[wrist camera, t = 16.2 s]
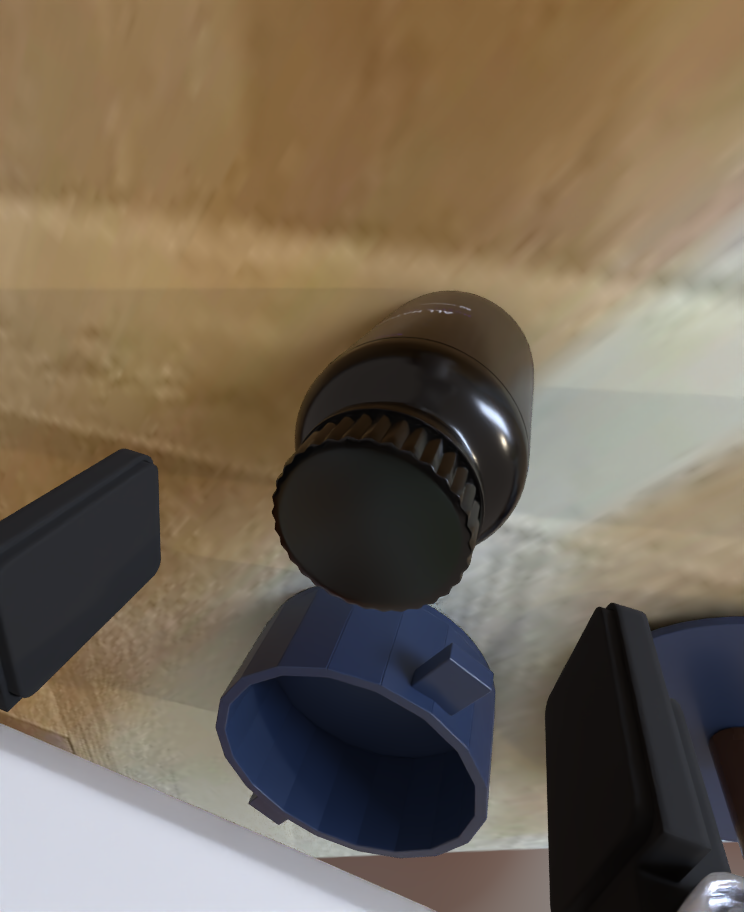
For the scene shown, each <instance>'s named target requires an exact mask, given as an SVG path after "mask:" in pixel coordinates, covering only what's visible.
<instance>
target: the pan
mask: <svg viewBox="0 0 744 912" xmlns="http://www.w3.org/2000/svg"><path fill="white" fill-rule="evenodd" d="M493 676H494V674H493V672H492V671H490V669H489V666H488V664H487V662H486V661H485V659H484V657H483V655H482V653H481V652H480V651H479V649H478V648H477V646H476V645H475V644H474V642H473V641H472V640H471V639H470V638H469V637H468V636H467V635H466V634H465V633H464V631H463V630H462V629H461V628H459V627H458V626H457V625H456V624H455V623H453V622H452V621H451V620H450V619H449V618H447V617H446V616H444V615H443V614H442V613H440V612H439V611H437V610H436V609H434V608H432V607H430V606H429V605H427V604H426V605H423V606H422V607H421V608H420V609H407V610H405V611H403V612H398V611H393V610H390V611H386V612H382V611H379V610H376V609H364V608H362V607H360V606H358V605H355V604H347V603H346V602H344V601H343V600H342V599H340V598H337V597H333V596H331V595H330V594H328V593H327V592H326V591H325V590H324V589H322V588H320V587H313V588H310V589H307V590H305V591H303V592H300V593H298V594H296V595H295V596H293V597H292V598H290V599H289V600H287V601H286V602H285V603H284V604H283V605H282V606H281V607H280V608H279V609H278V611H277V612H276V613H275V615H274V616H273V617H272V618H271V620H270V621H269V622H268V623H267V624H266V626H265V628H264V629H263V631H262V632H261V634H260V636H259V637H258V639H257V640H256V642H255V644H254V645H253V647H252V649H251V650H250V652H249V653H248V655H247V657H246V658H245V660H244V661H243V663H242V665H241V666H240V668H239V669H238V671H237V673H236V674H235V676H234V678H233V679H232V681H231V682H230V684H229V686H228V687H227V689H226V690H225V692H224V694H223V695H222V697H221V699H220V704H219V710H218V716H217V721H216V730H217V734H218V737H219V740H220V743H221V746H222V749H223V752H224V755H225V758H226V759H227V760H228V762H229V763H230V765H231V766H232V767H233V769H234V770H235V771H236V773H237V774H238V775H239V777H240V778H241V780H242V781H243V782H244V784H245V785H246V786H247V787H248V788H249V789H250V790H251V791H252V792H253V794H252V796H251V798H250V801H249V804H250V805H251V806H252V807H254V808H255V809H257V810H258V811H260V812H261V813H262V814H264V815H265V816H267V817H268V818H269V819H271V820H272V821H274V822H275V823H276V824H278V825H279V824H281V823H283V822H284V821H286V820H287V819H288V820H290V821H292V822H293V823H295V824H297V825H299V826H300V827H302V828H304V829H305V830H307V831H309V832H311V833H312V834H314V835H316V836H318V837H321V838H324V839H327V840H329V841H332V842H335V843H337V844H340V845H343V846H345V847H348V848H351V849H353V850H357V851H361V852H367V853H372V854H378V855H384V856H390V857H396V858H411V857H426V856H427V857H428V856H437V855H440V854H443V853H445V852H448V851H450V850H452V849H455V848H457V847H460V846H462V845H464V844H467V843H468V842H469V841H470V840H471V839H472V838H473V836H474V835H475V834H476V832H477V831H478V830H479V829H480V827H481V826H482V825H483V823H484V822H485V821H486V818H487V810H488V797H489V784H490V771H491V757H492V744H493V731H494V714H495V687H494V682H493Z"/></svg>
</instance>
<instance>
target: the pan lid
mask: <svg viewBox="0 0 744 912" xmlns="http://www.w3.org/2000/svg"><path fill="white" fill-rule="evenodd" d="M651 634H652V637H653V641H654V645H655V648H656V652H657V655H658V659H659V662H660V666H661V670H662V673H663V677H664V680H665V684H666V687H667V691H668V695H669V697H670V698H673V699H675V700H676V701H677V702H678V703H679V704H680V706H681V709H682V711H683V713H684V717H685V720H686V723H687V727H688V730H689V733H690V737H691V740H692V743H693V747H694V750H695V753H696V757H697V760H698V763H699V767H700V770H701V773H702V777H703V780H704V783H705V787H706V790H707V793H708V797H709V800H710V804H711V807H712V810H713V814H714V817H715V820H716V824H717V827H718V830H719V834H720V837H721V840H727V841H734V842H738V843H739V846H740V849H741V852H742V856H743V858H744V617H742V616H731V617H717V618H705V619H699V620H693V621H687V622H681V623H677V624H673V625H669V626H666V627H662V628H658V629H655V630H653V631H651Z"/></svg>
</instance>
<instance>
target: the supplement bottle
mask: <svg viewBox="0 0 744 912" xmlns="http://www.w3.org/2000/svg"><path fill="white" fill-rule="evenodd" d="M533 390H534V367H533V359H532V354H531V351H530V348H529V344H528V342H527V340H526V337H525V336H524V334H523V332H522V330H521V329H520V327H519V326H518V324H517V323H516V322H515V321H514V320H513V318H512V317H511V316H510V315H509V314H508V313H507V312H505V311H504V310H503V309H502V308H500V307H499V306H498V305H496V304H495V303H493V302H491V301H489V300H487V299H485V298H483V297H480V296H478V295H475V294H471V293H467V292H460V291H439V292H434V293H429V294H426V295H422V296H420V297H418V298H415V299H413V300H411V301H409V302H407V303H406V304H404V305H403V306H401V307H400V308H398V309H397V310H395V311H394V312H393V313H391V314H390V315H389V316H388V317H387V318H385V319H384V320H383V321H382V322H380V323H379V324H378V325H377V326H375V327H374V328H373V329H372V330H371V331H369V332H368V333H367V334H366V335H364V336H363V337H362V338H361V339H359V340H358V341H357V342H356V343H355V344H353V345H352V346H351V347H350V348H348V349H347V350H346V351H345V352H344V353H342V354H341V355H340V356H339V357H337V358H336V359H335V360H334V361H333V362H331V363H330V364H329V365H328V366H327V367H326V368H325V369H324V370H323V372H322V373H321V374H320V375H319V376H318V377H317V378H316V380H315V381H314V382H313V383H312V385H311V386H310V388H309V390H308V391H307V393H306V395H305V397H304V399H303V402H302V404H301V407H300V410H299V413H298V417H297V422H296V429H295V453H294V454H293V455H292V456H291V457H290V458H289V459H288V461H287V462H286V463H285V465H284V469H283V472H282V473H281V474H280V475H279V477H278V478H277V481H276V487H277V489H276V490H275V492H274V494H273V496H272V498H273V502H274V508H273V510H272V514H273V517H274V519H275V521H276V522H275V530H276V532H277V533H278V535H279V536H280V542H281V545H282V546H283V548H284V549H285V550H286V551H287V552H288V555H289V558H290V560H291V561H292V562H293V563H295V564H296V565H297V566H298V568H299V570H300V571H301V573H302V574H303V575H305V576H307V577H308V578H310V579H311V581H312V582H313V583H314V584H315V586H317V587H320V588H322V589H324V590H325V591H326V592H327V593H328V594H330V595H331V596H333V597H337V598H340V599H342V600H343V601H344V602H346V603H347V604H355V605H358V606H360V607H362V608H364V609H376V610H379V611H382V612H386V611H390V610H393V611H398V612H403V611H405V610H407V609H420V608H421V607H422V606H423V605H426V604H434V603H435V602H436V601H437V600H438V598H439V597H441V596H445V595H448V594H449V592H450V590H451V588H452V587H453V586H455V585H456V584H458V583H459V582H460V581H461V579H462V576H463V572H464V571H465V570H466V569H467V568H468V567H469V565H470V562H471V558H472V553H473V550H474V548H475V546H476V545H478V544H479V543H481V542H482V541H484V540H486V539H487V538H488V537H490V536H491V535H492V534H493V533H495V532H496V531H497V530H498V529H499V528H500V527H501V526H502V525H503V524H504V522H505V521H506V520H507V519H508V518H509V516H510V515H511V513H512V512H513V510H514V509H515V507H516V505H517V503H518V501H519V499H520V497H521V494H522V492H523V489H524V485H525V481H526V477H527V472H528V465H529V456H530V440H531V423H532V406H533Z"/></svg>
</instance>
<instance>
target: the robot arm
mask: <svg viewBox="0 0 744 912" xmlns="http://www.w3.org/2000/svg"><path fill="white" fill-rule="evenodd" d="M160 561H161V552H160V517H159V483H158V468H157V466H155V465H154V464H153V461H152V459H151V457H149V456H148V455H144V454H141V453H138V452H135V451H132V450H129V449H120V450H118V451H116V452H115V453H113V454H111V455H110V456H108V457H106V458H105V459H103V460H101V461H100V462H98V463H96V464H95V465H93V466H91V467H90V468H88V469H86V470H85V471H83V472H81V473H80V474H78V475H76V476H75V477H73V478H71V479H70V480H68V481H66V482H65V483H63V484H61V485H60V486H58V487H56V488H55V489H53V490H51V491H50V492H48V493H46V494H45V495H43V496H41V497H40V498H38V499H36V500H35V501H33V502H31V503H30V504H28V505H26V506H25V507H23V508H21V509H20V510H18V511H16V512H15V513H13V514H11V515H10V516H8V517H6V518H5V519H3V520H1V521H0V709H1V710H3V711H6V712H8V711H9V710H10V709H11V708H12V707H13V706H14V705H15V704H16V703H17V702H18V701H20V700H21V699H22V698H27V697H30V696H32V695H33V694H34V693H36V692H37V691H38V690H39V689H40V688H41V687H42V686H43V685H44V684H45V683H46V682H47V681H48V680H49V679H50V678H51V677H52V676H53V675H54V674H55V673H56V672H57V671H58V670H59V669H60V668H61V667H62V666H63V665H64V664H65V663H66V662H67V661H68V660H69V659H70V658H71V657H72V656H73V655H74V654H75V653H76V652H77V651H78V650H79V649H80V648H81V647H82V646H83V645H84V644H85V643H86V642H87V641H88V640H89V639H90V638H91V637H92V636H93V635H94V634H95V633H96V632H98V631H99V630H100V629H101V628H102V627H103V626H104V625H105V624H106V623H107V622H108V621H109V620H110V619H111V618H112V617H113V616H114V615H115V614H116V613H117V612H118V611H119V610H120V609H121V608H122V607H123V606H124V605H125V604H126V603H127V602H128V601H129V600H130V599H131V598H132V597H133V596H134V595H135V594H136V593H137V592H138V591H139V590H140V589H141V588H142V587H143V586H144V585H145V584H146V583H147V582H148V581H149V580H150V579H151V578H152V577H153V576H154V575H155V574H156V572H157V570H158V568H159V566H160ZM545 732H546V768H547V805H548V842H549V874H550V875H549V877H550V907H551V912H744V877H741V876H738V875H735V874H731V870H730V867H729V864H728V861H727V857H726V854H725V850H724V847H723V844H722V840H721V837H720V834H719V830H718V827H717V824H716V820H715V817H714V814H713V810H712V807H711V804H710V800H709V797H708V793H707V790H706V787H705V783H704V780H703V777H702V773H701V770H700V767H699V763H698V760H697V757H696V753H695V750H694V747H693V743H692V740H691V737H690V733H689V730H688V727H687V723H686V720H685V717H684V713H683V711H682V709H681V706H680V704H679V703H678V702H677V701H676V700H675V699H673V698H670V697H669V695H668V691H667V687H666V684H665V680H664V677H663V673H662V670H661V666H660V662H659V659H658V655H657V652H656V648H655V645H654V641H653V637H652V634H651V630H650V627H649V623H648V619H647V617H646V615H645V614H644V613H643V612H641V611H638V610H634V609H631V608H628V607H625V606H622V605H619V604H615V603H610V604H609V605H608V606H607V607H606V609H605V608H602V607H597V608H596V610H595V611H594V613H593V615H592V617H591V618H590V620H589V622H588V624H587V626H586V628H585V630H584V632H583V633H582V635H581V637H580V639H579V641H578V643H577V645H576V647H575V649H574V650H573V652H572V654H571V656H570V658H569V660H568V662H567V664H566V665H565V667H564V669H563V671H562V673H561V675H560V677H559V679H558V680H557V682H556V684H555V686H554V688H553V690H552V692H551V694H550V696H549V698H548V701H547V705H546V711H545ZM0 912H437V911H435V910H432V909H430V908H428V907H426V906H423V905H421V904H419V903H417V902H414V901H412V900H410V899H408V898H405V897H403V896H401V895H398V894H396V893H394V892H392V891H389V890H387V889H385V888H382V887H380V886H378V885H376V884H373V883H371V882H368V881H366V880H364V879H362V878H360V877H357V876H355V875H353V874H350V873H348V872H346V871H344V870H341V869H339V868H337V867H334V866H332V865H329V864H327V863H325V862H323V861H321V860H318V859H316V858H314V857H311V856H309V855H307V854H305V853H302V852H300V851H298V850H295V849H293V848H291V847H289V846H286V845H284V844H282V843H279V842H277V841H275V840H272V839H270V838H268V837H266V836H263V835H261V834H259V833H256V832H254V831H252V830H249V829H247V828H245V827H242V826H240V825H238V824H235V823H233V822H231V821H228V820H226V819H224V818H221V817H219V816H217V815H215V814H212V813H210V812H208V811H205V810H203V809H201V808H198V807H196V806H194V805H191V804H189V803H187V802H184V801H182V800H180V799H177V798H175V797H173V796H170V795H168V794H166V793H163V792H161V791H159V790H156V789H154V788H152V787H149V786H147V785H145V784H142V783H140V782H138V781H135V780H133V779H131V778H128V777H126V776H124V775H121V774H119V773H117V772H114V771H112V770H110V769H107V768H105V767H103V766H100V765H98V764H96V763H93V762H91V761H89V760H86V759H84V758H81V757H79V756H77V755H74V754H72V753H70V752H67V751H65V750H63V749H60V748H58V747H56V746H53V745H51V744H48V743H46V742H44V741H41V740H39V739H37V738H34V737H32V736H30V735H27V734H25V733H22V732H20V731H18V730H15V729H13V728H11V727H8V726H6V725H4V724H1V723H0Z"/></svg>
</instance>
